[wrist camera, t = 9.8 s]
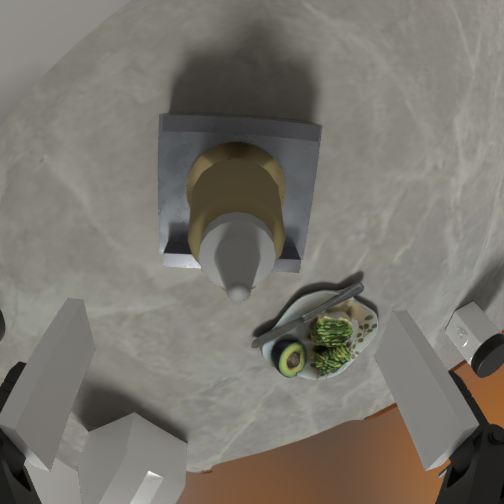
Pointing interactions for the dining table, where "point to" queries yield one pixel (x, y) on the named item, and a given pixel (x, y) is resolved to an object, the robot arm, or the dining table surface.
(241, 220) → the squeeze bottle
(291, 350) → the avocado toast plate
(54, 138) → the dining table surface
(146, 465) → the white notched stand
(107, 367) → the dining table surface
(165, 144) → the grey rimmed block
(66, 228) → the dining table surface
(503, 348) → the jar
